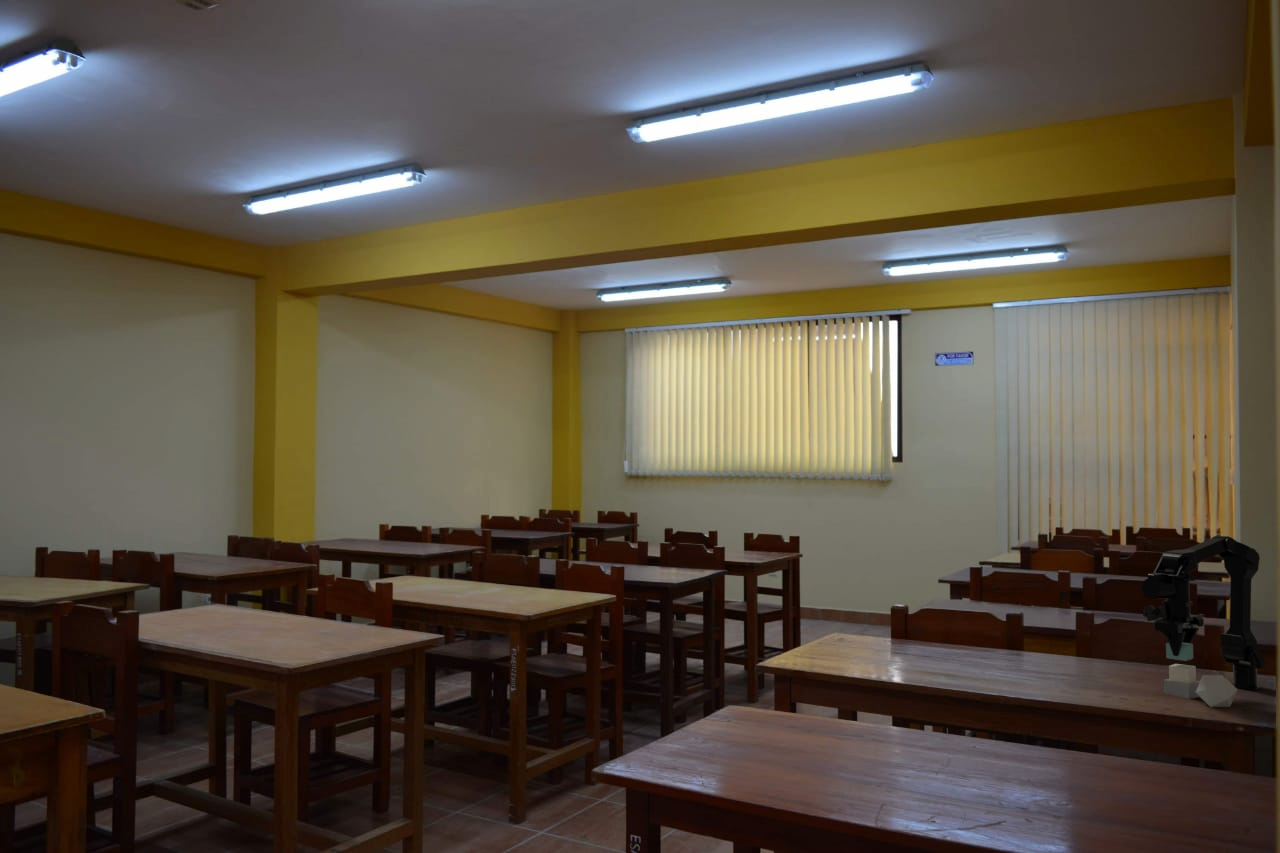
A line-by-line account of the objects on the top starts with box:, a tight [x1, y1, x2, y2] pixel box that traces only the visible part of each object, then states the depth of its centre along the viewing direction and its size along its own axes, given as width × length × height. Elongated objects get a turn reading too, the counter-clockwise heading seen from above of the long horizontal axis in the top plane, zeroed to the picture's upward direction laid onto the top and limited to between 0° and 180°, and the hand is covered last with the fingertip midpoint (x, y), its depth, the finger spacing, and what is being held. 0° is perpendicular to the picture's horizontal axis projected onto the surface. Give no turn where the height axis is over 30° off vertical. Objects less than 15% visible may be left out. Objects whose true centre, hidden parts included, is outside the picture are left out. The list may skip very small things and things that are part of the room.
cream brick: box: [1168, 663, 1197, 684], centre depth 254 cm, size 5×5×4 cm
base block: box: [1163, 678, 1201, 700], centre depth 254 cm, size 7×7×4 cm
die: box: [1196, 674, 1239, 708], centre depth 242 cm, size 8×9×10 cm
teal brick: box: [1165, 642, 1194, 662], centre depth 255 cm, size 5×5×4 cm
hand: (1179, 654), depth 255 cm, fingers closed on teal brick, 5 cm apart
